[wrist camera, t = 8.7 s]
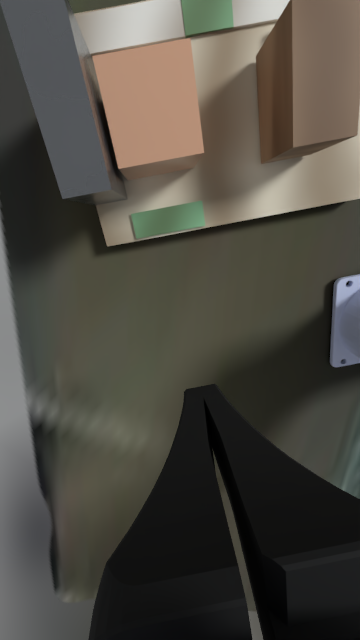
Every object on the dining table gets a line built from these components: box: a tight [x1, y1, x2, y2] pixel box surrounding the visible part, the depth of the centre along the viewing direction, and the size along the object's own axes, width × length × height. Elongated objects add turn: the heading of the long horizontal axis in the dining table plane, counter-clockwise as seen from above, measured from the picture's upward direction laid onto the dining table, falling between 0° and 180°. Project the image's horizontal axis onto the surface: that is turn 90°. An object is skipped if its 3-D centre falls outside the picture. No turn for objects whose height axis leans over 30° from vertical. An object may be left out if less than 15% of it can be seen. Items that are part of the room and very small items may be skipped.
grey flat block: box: [0, 0, 128, 205], centre depth 12 cm, size 2×6×7 cm, turn 10°
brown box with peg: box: [256, 0, 360, 164], centre depth 13 cm, size 3×6×4 cm, turn 10°
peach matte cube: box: [92, 38, 204, 180], centre depth 13 cm, size 4×4×4 cm
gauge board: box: [74, 0, 360, 247], centre depth 15 cm, size 17×11×1 cm, turn 100°
